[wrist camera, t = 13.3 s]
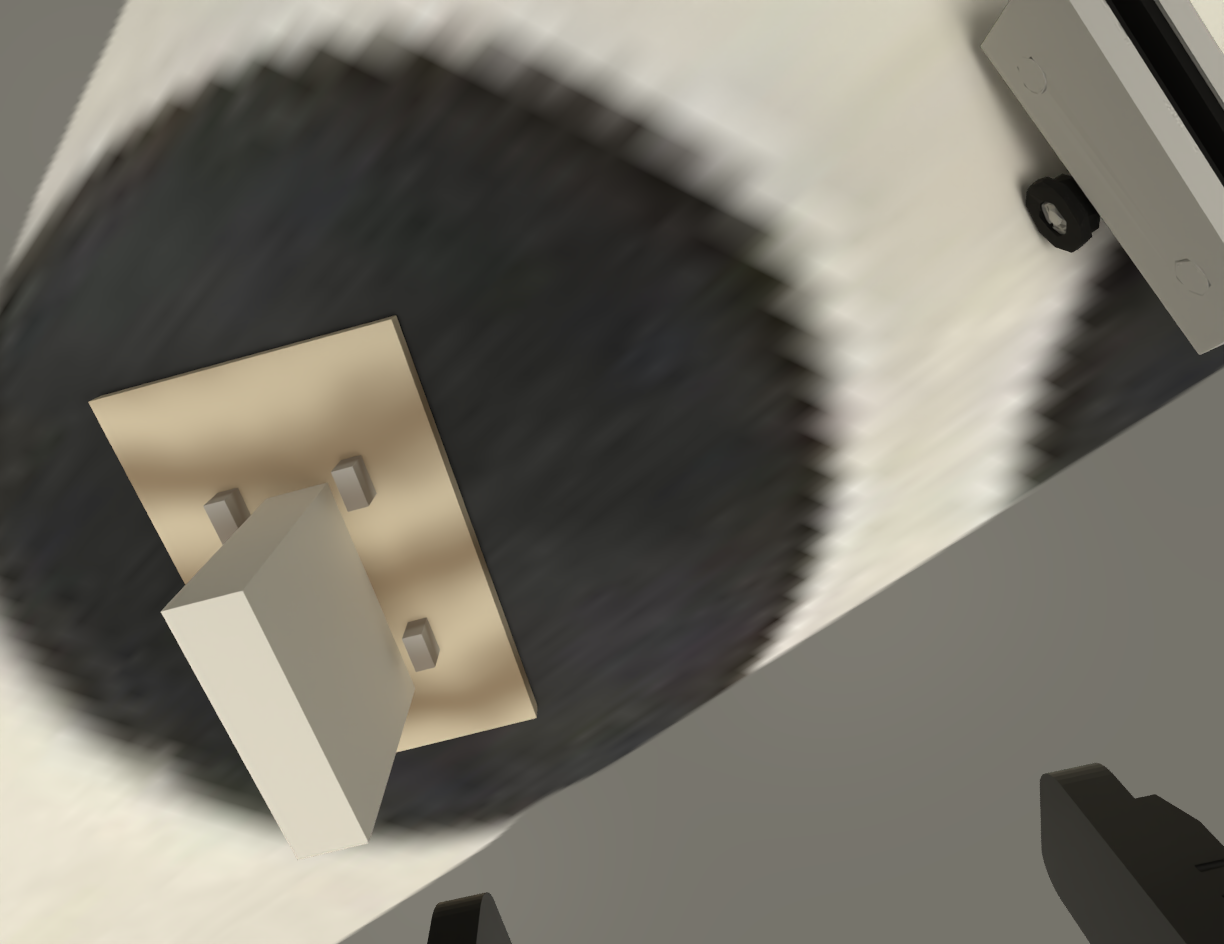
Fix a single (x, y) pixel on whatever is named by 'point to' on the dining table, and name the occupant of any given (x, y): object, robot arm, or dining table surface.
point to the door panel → (299, 667)
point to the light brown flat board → (362, 487)
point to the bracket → (1128, 138)
